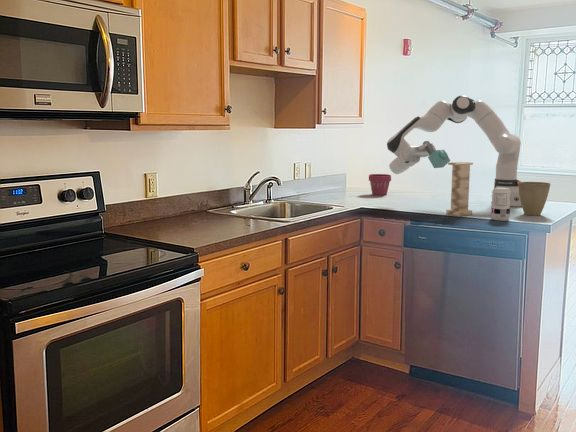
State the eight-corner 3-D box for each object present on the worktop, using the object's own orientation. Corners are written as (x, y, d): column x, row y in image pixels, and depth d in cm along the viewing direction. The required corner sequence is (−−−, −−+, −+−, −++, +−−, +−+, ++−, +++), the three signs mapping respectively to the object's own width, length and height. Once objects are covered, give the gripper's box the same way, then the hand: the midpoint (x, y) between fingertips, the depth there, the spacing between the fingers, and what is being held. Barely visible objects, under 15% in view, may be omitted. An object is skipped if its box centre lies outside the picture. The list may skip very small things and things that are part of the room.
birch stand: (446, 213, 296) (448, 162, 292) (457, 212, 302) (459, 161, 297) (460, 216, 289) (462, 163, 285) (472, 214, 294) (474, 162, 290)
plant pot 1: (394, 195, 368) (395, 175, 366) (374, 196, 364) (374, 176, 362) (384, 193, 382) (385, 173, 380) (364, 193, 378) (365, 174, 376)
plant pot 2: (553, 214, 293) (555, 182, 290) (540, 217, 283) (542, 185, 280) (524, 211, 304) (526, 180, 301) (510, 214, 293) (512, 182, 291)
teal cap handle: (419, 143, 308) (428, 135, 303) (428, 143, 312) (437, 134, 306) (434, 168, 301) (442, 160, 296) (443, 167, 305) (451, 159, 300)
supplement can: (487, 218, 282) (488, 187, 280) (501, 217, 285) (502, 186, 282) (498, 221, 275) (500, 189, 272) (513, 220, 277) (514, 188, 275)
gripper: (427, 160, 323) (444, 149, 312) (400, 162, 311) (418, 150, 300) (423, 150, 324) (440, 138, 314) (396, 152, 313) (413, 139, 302)
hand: (429, 144), depth 307 cm, fingers closed on teal cap handle, 3 cm apart
